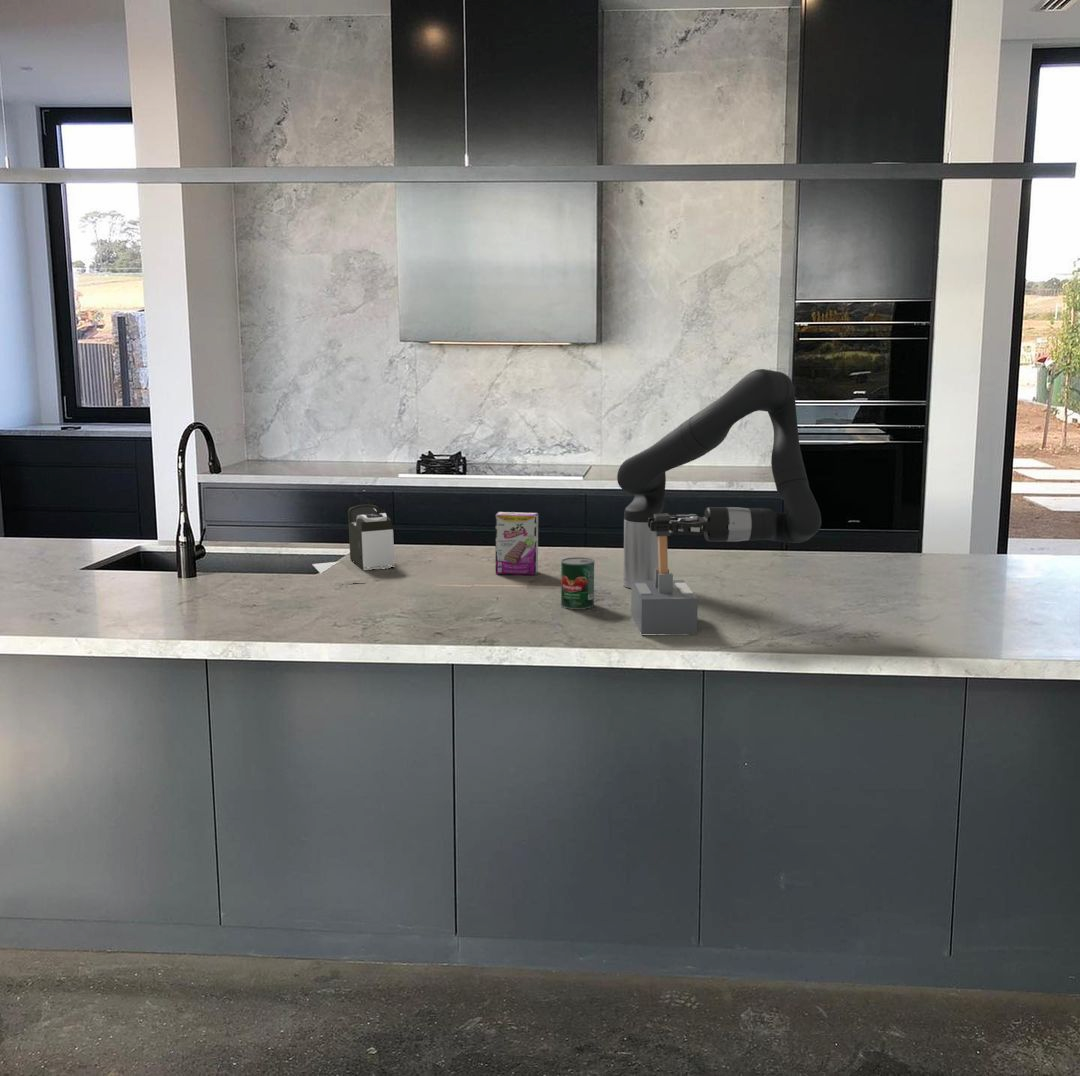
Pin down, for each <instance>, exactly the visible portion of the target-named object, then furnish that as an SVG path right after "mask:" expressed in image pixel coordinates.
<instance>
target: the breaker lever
mask: <svg viewBox="0 0 1080 1076" xmlns="http://www.w3.org/2000/svg"><path fill="white" fill-rule="evenodd" d="M670 515H671V514H669V513H668V512H665V513H664V512H663V513H662V512H661V514H654V521H668V522H669V521H670ZM654 534H655V535H656V536H658V563H659V574H668V569H669V562H668V561H669V558H668V554H669V553H668V537H671V533H670V532H668V531H654Z"/></svg>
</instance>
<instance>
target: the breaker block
mask: <svg viewBox="0 0 1080 1076" xmlns="http://www.w3.org/2000/svg"><path fill="white" fill-rule="evenodd" d="M673 577H674V575H673V573H670V569H669V568H668V574H659V569H655V580H648V581H631V588H630V590H631V591H630V594H631V595H630V597H631V598H630V599H631V600H630V615H632V616H631V617H633V618H634V620H633V621H635V622H634V624H635V623H636V624H637V626H638V628H639V630H640V632H641V634H697V635H698V605H699V604H698V602H699V598H698V597H697V596H696V594H695V593H694V592H693V591H692V589H691V587H690V586H689V585H688V584H687V582H686V581H685V580H684V579H674V578H673ZM633 618H632V619H633ZM636 624H635V625H636ZM637 626H636V627H637ZM638 628H637V629H638ZM639 630H638V631H639ZM640 632H639V633H640ZM641 634H640V635H641Z"/></svg>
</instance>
